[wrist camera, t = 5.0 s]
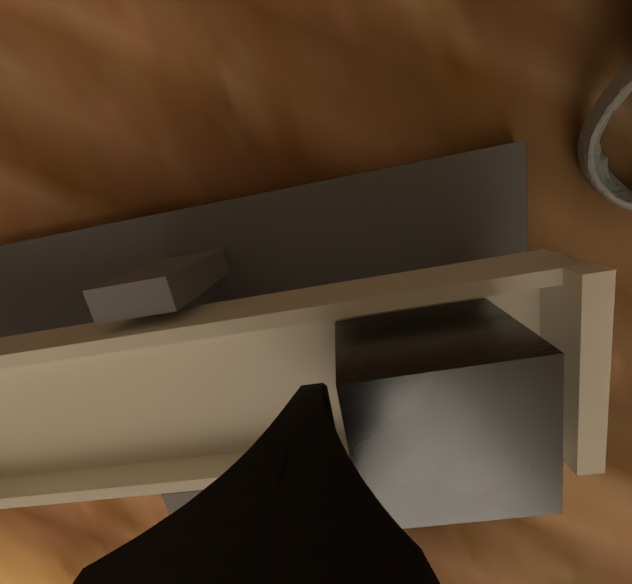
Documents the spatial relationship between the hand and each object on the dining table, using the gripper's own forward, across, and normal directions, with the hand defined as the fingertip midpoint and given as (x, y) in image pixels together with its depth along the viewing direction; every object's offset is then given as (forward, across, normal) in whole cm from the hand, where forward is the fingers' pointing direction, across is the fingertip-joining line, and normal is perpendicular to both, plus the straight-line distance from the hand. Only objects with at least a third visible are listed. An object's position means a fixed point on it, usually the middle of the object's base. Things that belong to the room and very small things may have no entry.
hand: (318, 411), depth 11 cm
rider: (+2, -3, 0) cm, 4 cm away
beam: (+4, +6, 0) cm, 7 cm away
